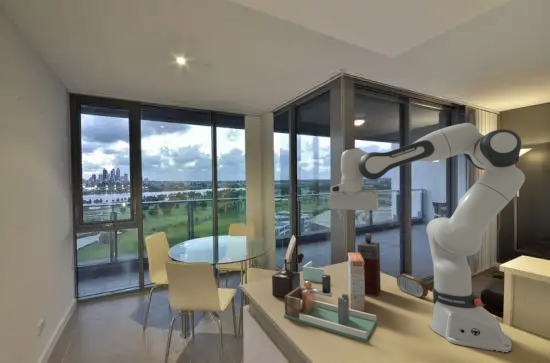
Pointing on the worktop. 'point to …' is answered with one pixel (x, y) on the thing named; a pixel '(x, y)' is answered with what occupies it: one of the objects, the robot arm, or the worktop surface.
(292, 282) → the manual coffee grinder
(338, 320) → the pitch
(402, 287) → the tin
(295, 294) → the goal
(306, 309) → the black head mallet
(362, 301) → the cracker box
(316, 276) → the right angle wall
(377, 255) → the toy vending machine
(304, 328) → the worktop surface
